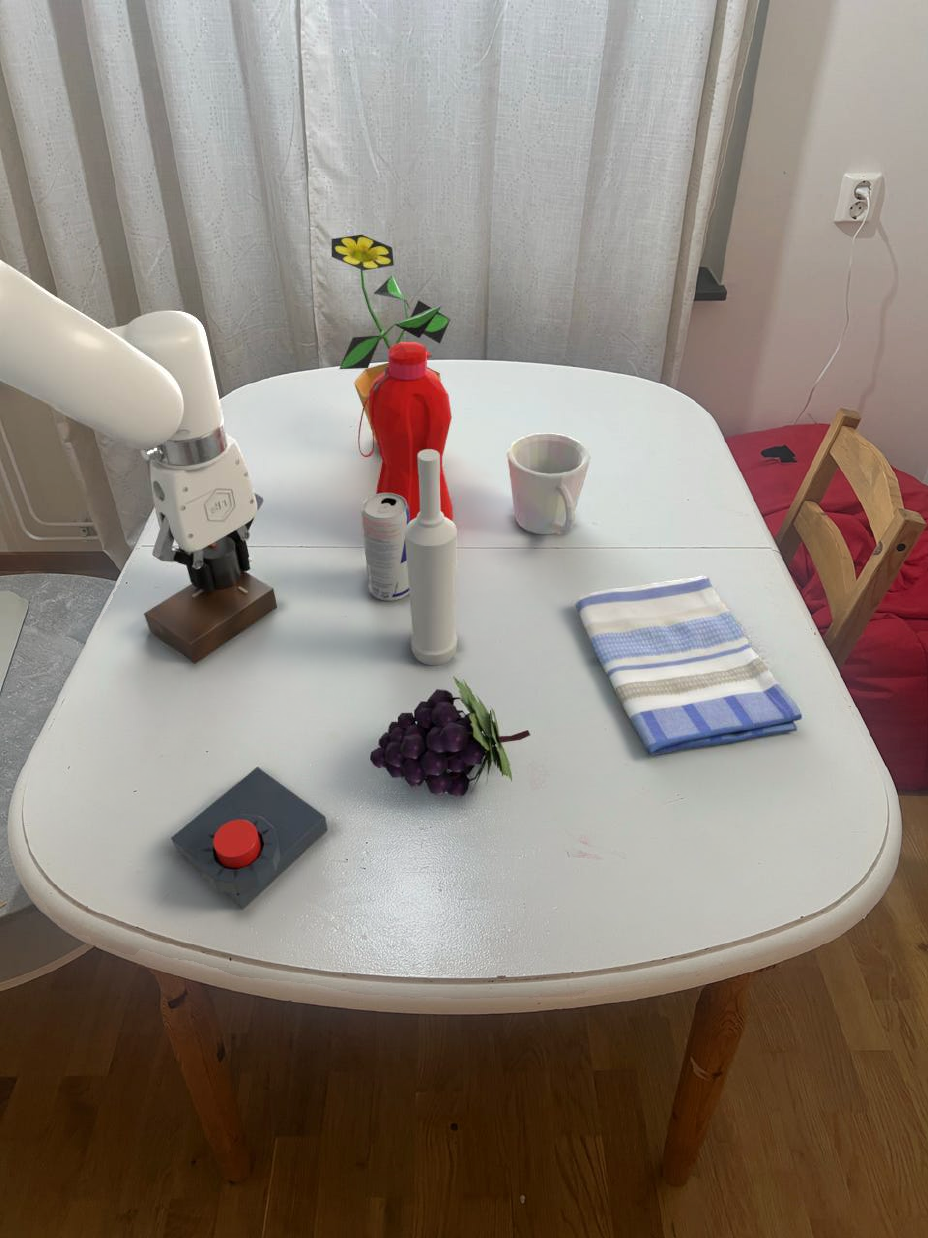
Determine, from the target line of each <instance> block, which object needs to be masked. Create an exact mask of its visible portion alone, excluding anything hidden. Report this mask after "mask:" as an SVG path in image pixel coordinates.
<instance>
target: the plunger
mask: <svg viewBox="0 0 928 1238" xmlns="http://www.w3.org/2000/svg"><path fill="white" fill-rule="evenodd" d="M213 844H214V848H215V851H216V854H217V857H218V859H219V861H220V862H221V863H222V864H223V865H224V866H226V867H229V868H241V867H245V866H247V865H249V864H250V863H252V862H253V861H254V860H255V859H256V858H257V856H258V854H259V852H260V848H261V844H260V840H259V836H258V833H257V830H256V828H255V826H254V825H253V824H252V823H250V822H248V821H245V820H234V821H230V822H228V823H226V824H224V825H223V826H221V827H220V828H219V829H218V831H217V832H216V834H215V836H214V840H213Z"/></svg>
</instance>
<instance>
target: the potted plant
mask: <svg viewBox="0 0 928 1238" xmlns="http://www.w3.org/2000/svg"><path fill="white" fill-rule="evenodd" d="M331 258H333V259H336V260H337V261H340V262H343V263H345V264H347V265H350V266H352V267H354V268H355V269H356V268H357V269H359V270H360V280H361V281H360V282H361V289H362V292H363V296H364V298H365V302H366V306H367V310H368V311H369V313H370V315H371V318H372V320H373V321H374V323H375V325H376V327H377V329H378V331H379V335H371V336H369V335H368V336H353V337H352V338H351V341H350V343H349V346H348V348H347V350H346V352H345V355H344V357H343V359H342V362H341V364H340V366H339V370H359V369H364V370H362V372H361V373H360V374H359V376H358V377H357V378H356V379H355V381H354V382H353V384H354V387H355V390H356V392H357V395H358V398H359V400H360V403H361V405H362V408H363V407H364V404H365V401H366V400H367V398H368V397H369V390H370V388H371V385H372V382H373V381H374V380H375V379H376V378H377V377H378V376H379V375H380V374H381V373H383V372H385V371H384V369H385V367H389V362H386V363H382V364H378V365H374V366H371V367H369V366H370V364H371V362H372V359H373V357H374V355H375V352H376V350H377V348H378V345H379V343H380V340H382V339H383V341H384V344H385V345H386V347H387V350H389V349H390V348H391V347H392V345H391V342H390V341H389V339H388V337H387V334H389V332H390V331H391V330H392V329H394V327H395V326H396V327H397V328H400V329H401V330H402V331H401V333H400V335H399V337H397V340H396V342H395V344H397V343H400V342H402V339H403V337H404V335H405V333H406V332H407V333H409V334H411V335H413V336H414V337H415V338H418V339H420V338H421V337H422V336H423V335H424V336H426V337H428V338H429V339H431V340H433V341H435V342H436V343H438V344H440V345H441V341H442V340H443V338H444V335H445V334H446V331H447V328H448V326H449V324H450V321H451V318H449V317H447V316H445V315H444V314H443V313H441V312H439V311H440V309H441V308H442V307H443V305H442V304H440V305H438V306H436V307H431V306H429V305H427V304H426V303H424V302H422V301H421V300H419V299H418V300H417V303H416V304H415V307H414V308H413V311H412V313H411V315H410V317H409V314H408V309H407V307H408V308H409V309H410V306H409V302H408V301H407V299H406V298H405V297H404V295H403V293H402V291H401V289H400V287H399V286H398V284H397V282H396V280H395V278H394V276H393V275H391V276H389V277H388V278H387V280H385V281H384V283H383V284H381V285H380V287H378V288H377V289H376V290H375V291H374V292H373V295H379V296H384V297H388V298H392V299H393V298H394V299H399V300H403V303H404V311H405V319H404V320H401V321H399V322H395V323H394V324H392V326H390V327H389V328H387V330H385V329H384V328H383V326H382V324H381V322H380V321H379V320H378V318H377V316H376V313H375V312H374V310H373V309H372V306H371V302H370V299H369V296H368V292H367V289H366V286H365V278H364V271H369V270H374V269H381V268H386V267H393V266H395V264H394V253H393V247H392V246H390V245H387V244H385V243H383V242H380V241H378V240H375V239H373V238H370V237H369V236H366V235H364V234H355V235H350V236H342V237H335V238H331ZM410 310H411V309H410ZM427 369H429V370H431V371H433V372H435V374H436V375H437V377H438V379H439V380H440V382H441V383H442V381H441V373H440V372H438V371H436V370H434V369H432V368H430V367H429V366H427ZM364 413H365V416H366V419H367V422H368V424H369V426H370V430H372V425H373V424H372V425H371V418H370V415H369V400H368V401H367V403H366V405H365V409H364ZM373 434H374V441H375V442H376V445H377V446H378V442H377V438H376V434H375V431H374V427H373ZM373 434H372V435H373Z"/></svg>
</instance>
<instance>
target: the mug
mask: <svg viewBox="0 0 928 1238" xmlns="http://www.w3.org/2000/svg"><path fill="white" fill-rule="evenodd" d="M506 457H507V466H508V472H509V481H510V488H511V495H512V503H513V512H514V517H515V521H516V523H517V524H518V525H519V527H521V528H522V529H523V530H525V531H527V532H530V533H533V534H535V535H536V534H537V535H554V534H555V535H556V534H558V535H563V536H564V535H567V534H569V533H570V532H572V529H573V528H574V524H575V520H576V519H575V518H576V509H577V506H578V502H579V499H580V495H581V492H582V489H583V486H584V482H585V479H586V476H587V472H588V468H589V466H590V462H591V454H590V452H589V449H588V448H587V447H586V446H585V445H584V444H583V443H582V442H581V441H579V440H577V439H575V438H574V437H571V436H567V435H564V434H561V433H553V432H552V433H551V432H543V433H542V432H541V433H533V434H527V435H524V436H522V437H519V438H518V439H515V441H514V442H512V444H510V446H509V447H508V450H507V453H506Z"/></svg>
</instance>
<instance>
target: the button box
mask: <svg viewBox="0 0 928 1238" xmlns="http://www.w3.org/2000/svg"><path fill="white" fill-rule="evenodd" d="M234 820H245V821H248V822H250V823H252V824H253V825H254V826H255V828H256V830H257V833H258V836H259V840H260V844H261V848H260V852H259V854H258V856H257V858H256V859H255V860H254V861H253V862H252V863H250V864H249V865H247V866H245V867H241V868H229V867H226V866H224V865H223V864H222V863H221V862H220V861H219V859H218V857H217V854H216V851H215V848H214V844H213V840H214V836H215V834H216V832H217V831H218V829H219V828H220V827H221V826H223V825H224V824H226V823H228V822H230V821H234ZM327 832H328V825H327V819H326V815H324V814H322V813H321V812H320V811H319V810H317V808H315V807H313V806H312V805H310V804H309V803H308V802H306V801H305V800H303V799H302V798H301V797H300V796H298V795H297V794H296V793H294V792H293V791H291V790H290V789H289V788H287V787H286V786H285V785H283V784H282V783H281V782H279V781H278V780H277V779H275V778H274V777H273V776H272V775H270V774H269V773H267V772H266V771H264V770H263V769H262V768H260V767H259V766H257V767H255V768H254V769H253V770H251V771H250V772H249V773H248V774H247V775H245V776H244V777H243V778H242V779H241V780H239V781H238V782H236V784H234V785H233V786H232V787H231V788H229V789H228V790H227V791H226V792H224V793H223V794H222V795H221V796H220V797H218V798H217V799H216V800H215V801H213V802H212V804H211V803H210V805H208V807H207V808H206V809H204V810H203V811H202V812H200V813H199V814H198V815H197V816H195V817H194V818H193V819H192V820H191V821H189V822H188V823H186V825H184V826H183V827H182V828H180V830H178V831H177V832H176V833H174V834H173V835H172V836H171V837H170V839H171V842H172V845H173V847H174V850H175V852H176V853H177V854H178V855H179V856H181V858H183V859H184V860H185V861H186V862H187V863H189V865H191V866H192V867H193V868H194V869H195V870H197V871H198V872H199V873H200V874H201V875H203V878H204V880H205V881H206V882H207V883H208V884H209V885H210V886H212V887H213V889H215V890H216V891H217V892H222V893H223V894H224V895H226V897H227V898H229V899H230V900H231V901H232V902H234V903H235V904H236V905H237V906H238V907H239V908H241V909H242V910H245V909H246V907H248V906H249V905H250V904H251V903H252V902H253V901H254V900H255V899H256V898H257V897H258V896H259V895H260V894H261V893H263V892H264V891H265V890H266V889H267V888H268V887H269V886H270V885H271V884H272V883H274V882H275V881H276V879H278V877H280V876H281V875H282V874H283V873H284V872H285V871H286V870H288V868H289V867H290V866H291V865H292V864H294V862H296V861H297V860H298V859H299V858H301V856H302V855H303V854H304V853H305V852H306V851H308V850H309V848H311V847H312V846H313V845H314V844H315V843H316V842H317V841H318V840H319V839H321V838H322V836H323V835H325V834H326V833H327Z"/></svg>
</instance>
